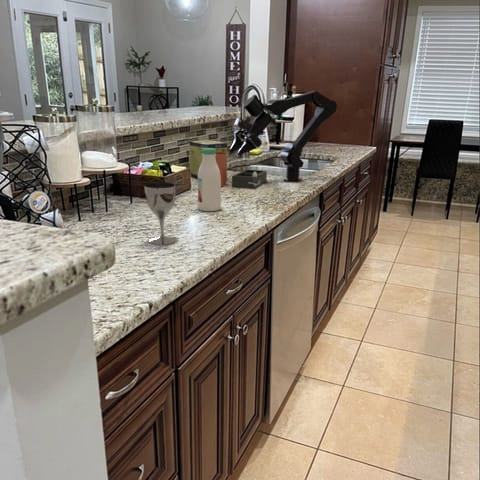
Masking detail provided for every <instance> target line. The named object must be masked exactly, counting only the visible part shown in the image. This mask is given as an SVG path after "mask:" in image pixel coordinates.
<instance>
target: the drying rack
mask: <svg viewBox="0 0 480 480" xmlns="http://www.w3.org/2000/svg"><path fill="white" fill-rule="evenodd" d="M254 172H256V173H257V177H252V175H253V173H254ZM267 174H268V171H267V170H262V169H244V170H242V171H240V172H238V173H237V172H236V173H234V174H233V175H231V188H240V189H242V188H243V189H250V190H253V189H255V188H257V187H259V186H261V185H263V184H265V183H266V182H267V178H268V177H267ZM258 180H259V181H260V184H259V185H256V187H255V185H254V184H249V183H248V182H251V183H255V184H257V183H258Z"/></svg>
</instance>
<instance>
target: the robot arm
mask: <svg viewBox="0 0 480 480" xmlns="http://www.w3.org/2000/svg"><path fill="white" fill-rule="evenodd" d="M309 103H312V104H313V106H315V107H316V109H315V111H314V115H313V117H312V118H311V119H310V120H309V122H308V123H307V124H306V126H305V127H304V128H303V130H302V131H301V132H300V133H299V135H298V136H297V137H296V139H295V140H294V141H292V143H291V142H287V143H286V144H285V145H284V147H283V148H281V153H280V158H281V160H282V162H283V165H284V166H286V174H285V178H284V179H283V181H284V182H293V183H296V182H297V183H298V182H300V181H301V180H302V178H300V169H301V168H303V166H304V164H305V163H304V161H303V160H302V158H301V157H302V153H303V150H304V147H305V146H306V145H307V143H308V142H309V141H310V140H311V138H312V137H313V136H314V134H315V133H316V132H317V131H318V129H319V128H320V127H321V125H322V124H323V123H324V122H325V121H327V120H328V119H329V118H332V116H333V115H334V114H335V113H336V112H337V111H338V104H337V102H336V101H335V100H333V99H330V98H329V97H326V96H325V95H323V94H321V93H320V92H319V91H318V90H309V91H308V92H305V93H301V94H298V95H295V96H291V97H289V98H282V99H270V100H268V101H267V103H263V102H262V101H261V100H260V99H259V96H258V95H257V94H253V95H252V96H251V97H249V98H248V99H246V100H244V102H243V104H242V107H243V108H244V110H245V111H246V112H247V113H248V114H249V116H251V118H254V117H255V119H254V120H252V121H251V120H250V118H247V117H245V118H244V119H243V118H241V117H237V118H236V119H235V121H234V126H235V127H238V128H240V129H235V130H234V132H233V138H234V140H233V143H232V145H231V147H230V148H229V153H234V152H236V151H237V153H236V154H237V156H239V157H240V156H242V155H244V154H246V153H249V152H251V151H253V150H256V149H259V148H260V147H261V146H262V145H263V141H262V140H261V138H260V136H261V135H264V133H265V132H264V131H265V130H266V129H267V128H268V127H269V126H270V124H271V125H273V126H276V125H277V121H276V120H277V118H276V117H273V116H280V115H282V114H284V113H286V112H288V111H289V110H290V109H293V108H296V107H299V106H303V105H306V104H309Z"/></svg>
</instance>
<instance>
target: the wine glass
mask: <svg viewBox="0 0 480 480" xmlns="http://www.w3.org/2000/svg"><path fill="white" fill-rule="evenodd" d="M144 197H145V200H146V204H147V207H148V208H149V210H150V211H151V212H152V213H153V214H154V215H155V216H156V217H157V219H158V223H159V227H160V236H156V237H152V238H150V239H149V243H151V244H154V245H169V244H174V243H175V242H177V239H176V238H175V237H171V236H165V232H164V228H165V226H164V225H165V219H166V217H167V215H168V214H169V213H170V212H171V211H172V210H173V207H174V205H175V201H176V184H175V183H171V182H149V183H146V184H145V185H144Z"/></svg>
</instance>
